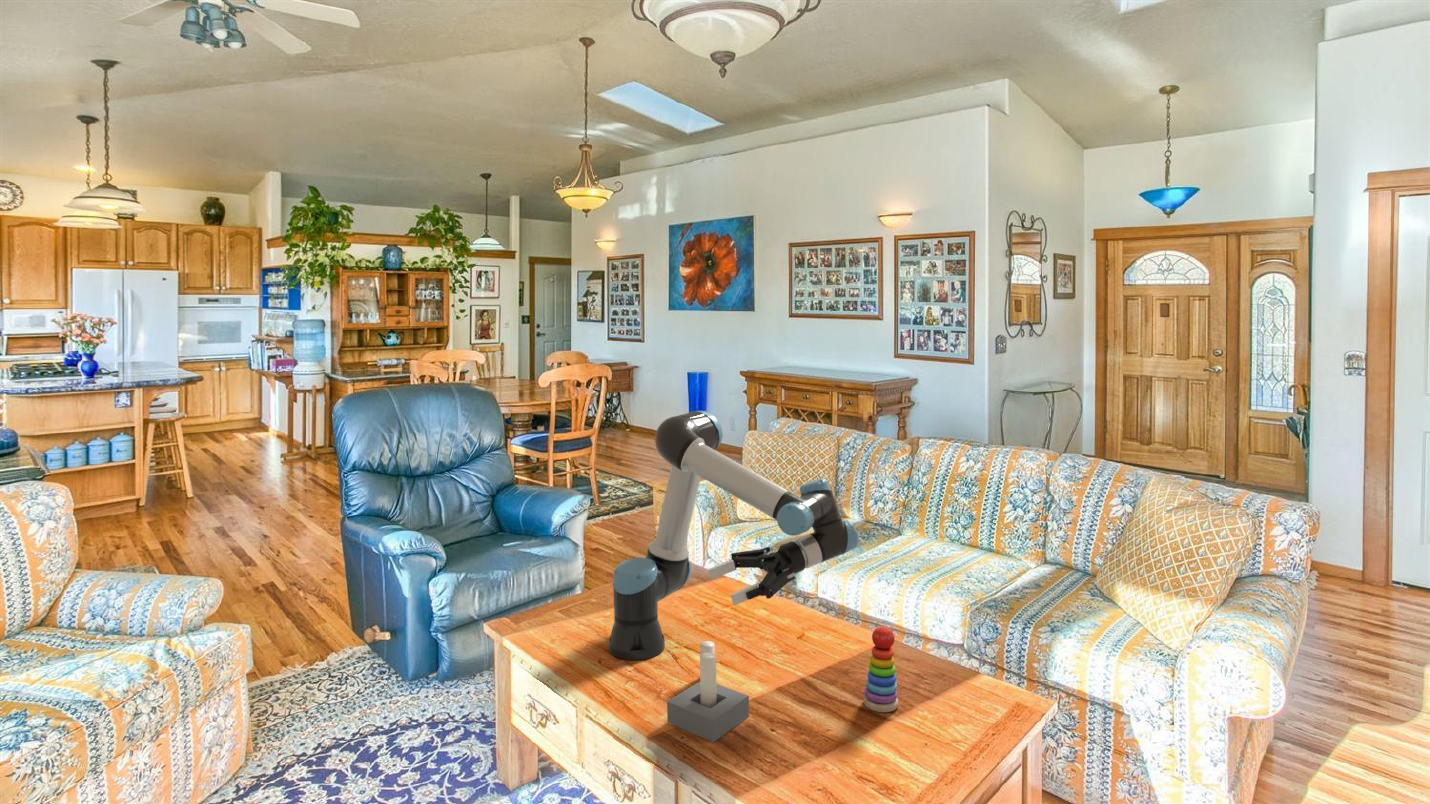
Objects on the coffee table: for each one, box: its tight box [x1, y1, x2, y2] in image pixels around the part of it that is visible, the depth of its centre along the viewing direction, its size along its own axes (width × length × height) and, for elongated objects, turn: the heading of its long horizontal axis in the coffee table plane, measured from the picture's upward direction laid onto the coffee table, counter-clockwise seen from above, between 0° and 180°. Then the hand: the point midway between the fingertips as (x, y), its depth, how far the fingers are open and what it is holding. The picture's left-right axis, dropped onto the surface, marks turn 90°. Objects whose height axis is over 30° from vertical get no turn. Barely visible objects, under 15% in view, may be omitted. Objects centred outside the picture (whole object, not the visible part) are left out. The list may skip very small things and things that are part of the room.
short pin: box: [699, 640, 716, 656], centre depth 195 cm, size 4×4×9 cm
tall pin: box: [699, 653, 717, 708], centre depth 175 cm, size 4×4×15 cm
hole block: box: [666, 681, 750, 743], centre depth 176 cm, size 13×13×5 cm
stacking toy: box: [863, 625, 900, 713], centre depth 181 cm, size 8×8×19 cm
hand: (720, 586), depth 186 cm, fingers open, 13 cm apart
